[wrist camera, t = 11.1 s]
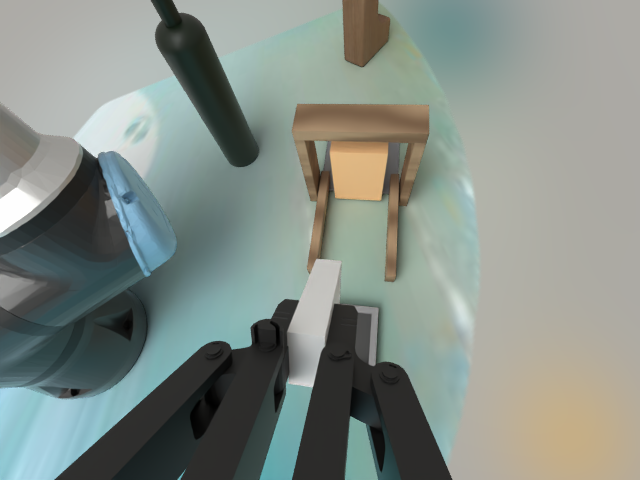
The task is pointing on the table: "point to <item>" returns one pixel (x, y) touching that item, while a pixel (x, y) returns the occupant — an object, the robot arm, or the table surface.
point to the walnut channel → (360, 127)
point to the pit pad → (366, 334)
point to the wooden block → (363, 30)
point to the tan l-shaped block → (358, 169)
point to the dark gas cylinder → (204, 81)
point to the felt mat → (390, 169)
